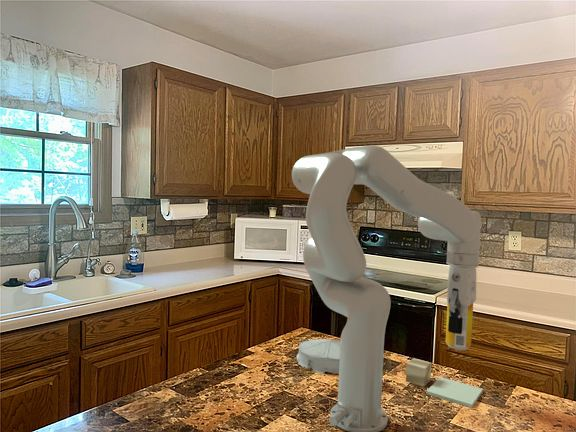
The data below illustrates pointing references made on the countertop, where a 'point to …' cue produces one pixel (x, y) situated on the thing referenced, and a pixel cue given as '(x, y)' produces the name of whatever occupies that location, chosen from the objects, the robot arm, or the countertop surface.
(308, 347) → the food container
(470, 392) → the sage mat
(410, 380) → the maple block
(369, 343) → the robot arm
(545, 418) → the countertop surface
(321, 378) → the countertop surface
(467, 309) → the beer can
